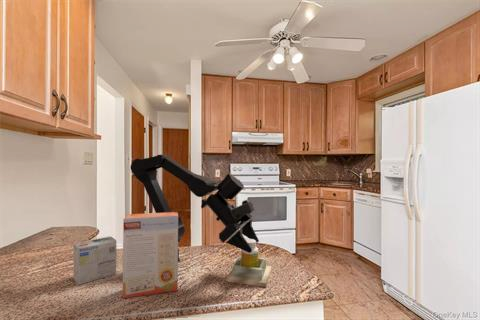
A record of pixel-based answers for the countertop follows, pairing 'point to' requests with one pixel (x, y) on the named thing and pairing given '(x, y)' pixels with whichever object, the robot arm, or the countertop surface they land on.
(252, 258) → the supplement bottle
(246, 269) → the holder
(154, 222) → the cracker box
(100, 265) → the light bulb box
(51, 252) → the countertop surface
